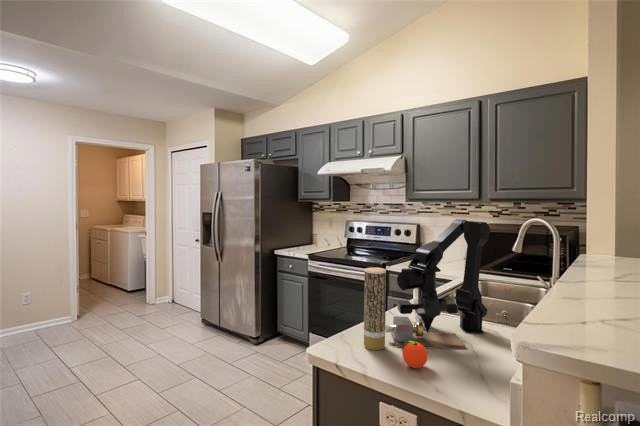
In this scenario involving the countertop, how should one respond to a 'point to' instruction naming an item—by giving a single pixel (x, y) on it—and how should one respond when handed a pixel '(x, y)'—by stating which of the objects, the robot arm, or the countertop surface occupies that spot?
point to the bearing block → (403, 329)
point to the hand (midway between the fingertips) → (427, 332)
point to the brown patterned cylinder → (374, 308)
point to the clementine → (415, 354)
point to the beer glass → (415, 301)
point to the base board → (435, 340)
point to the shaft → (416, 329)
